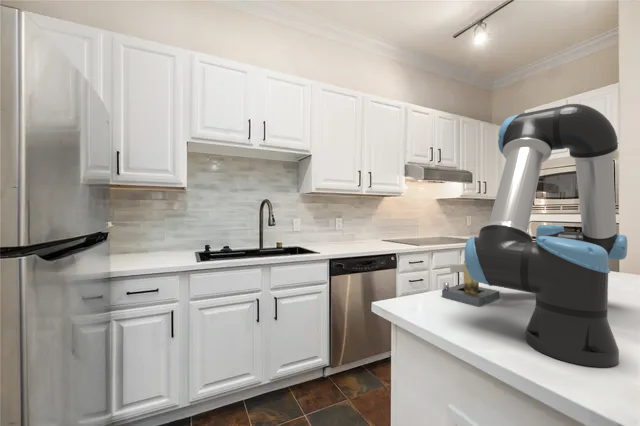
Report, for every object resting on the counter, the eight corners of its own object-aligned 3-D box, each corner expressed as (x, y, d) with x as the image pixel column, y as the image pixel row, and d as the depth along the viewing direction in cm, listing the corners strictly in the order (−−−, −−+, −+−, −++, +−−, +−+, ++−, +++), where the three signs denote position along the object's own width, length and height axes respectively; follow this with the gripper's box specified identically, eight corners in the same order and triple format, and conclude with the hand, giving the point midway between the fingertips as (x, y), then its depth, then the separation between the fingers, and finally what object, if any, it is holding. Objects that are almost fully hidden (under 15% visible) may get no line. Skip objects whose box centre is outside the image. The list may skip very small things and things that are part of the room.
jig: (479, 306, 90) (479, 291, 90) (441, 296, 100) (441, 283, 100) (499, 298, 98) (499, 285, 98) (462, 290, 108) (462, 277, 108)
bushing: (474, 300, 96) (475, 263, 96) (460, 297, 99) (461, 261, 99) (480, 298, 98) (481, 262, 98) (467, 295, 102) (468, 260, 102)
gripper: (553, 293, 88) (485, 294, 86) (496, 274, 113) (442, 275, 111) (554, 268, 88) (486, 268, 86) (496, 254, 113) (442, 255, 111)
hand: (461, 272), depth 98 cm, fingers open, 13 cm apart
